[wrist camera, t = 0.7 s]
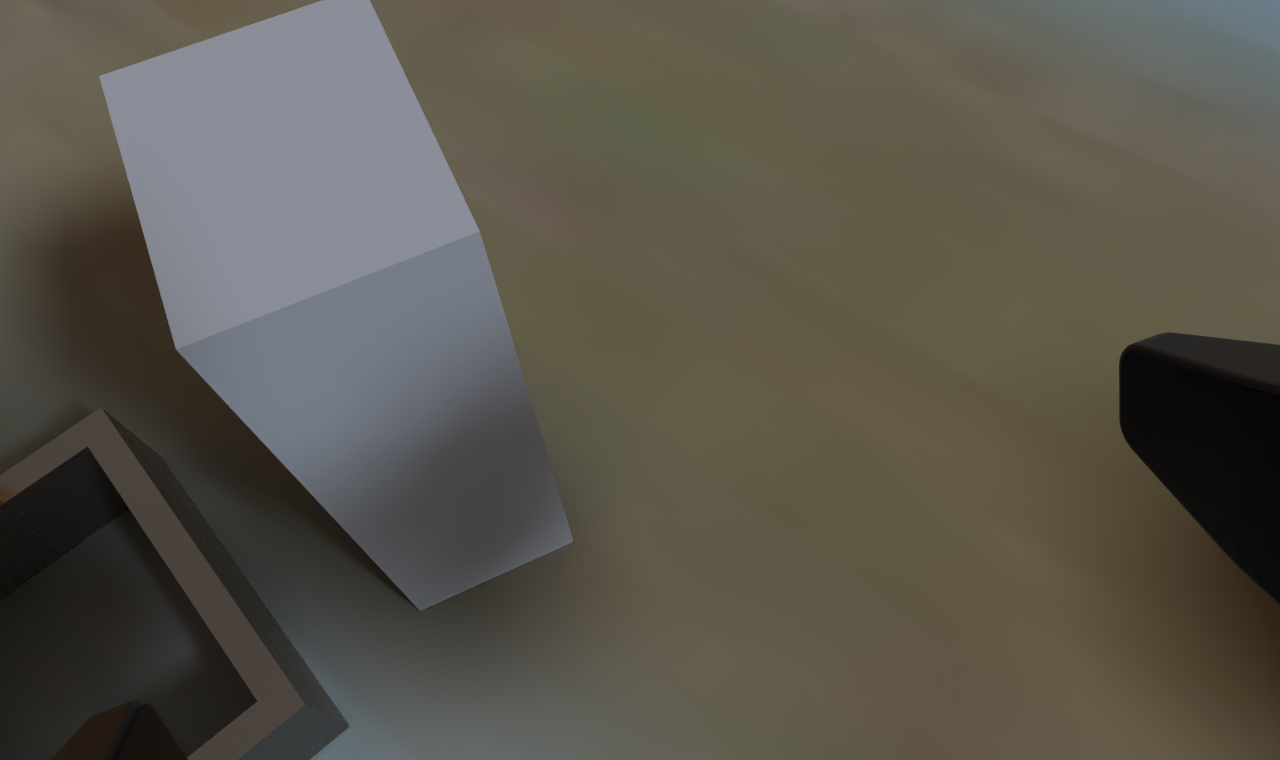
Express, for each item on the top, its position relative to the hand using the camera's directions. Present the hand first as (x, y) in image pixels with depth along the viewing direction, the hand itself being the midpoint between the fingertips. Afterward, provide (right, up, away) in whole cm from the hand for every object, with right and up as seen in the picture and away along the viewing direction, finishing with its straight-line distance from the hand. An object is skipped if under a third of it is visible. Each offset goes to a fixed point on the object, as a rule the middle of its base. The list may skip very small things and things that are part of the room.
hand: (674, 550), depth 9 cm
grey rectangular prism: (-5, -1, +16) cm, 17 cm away
